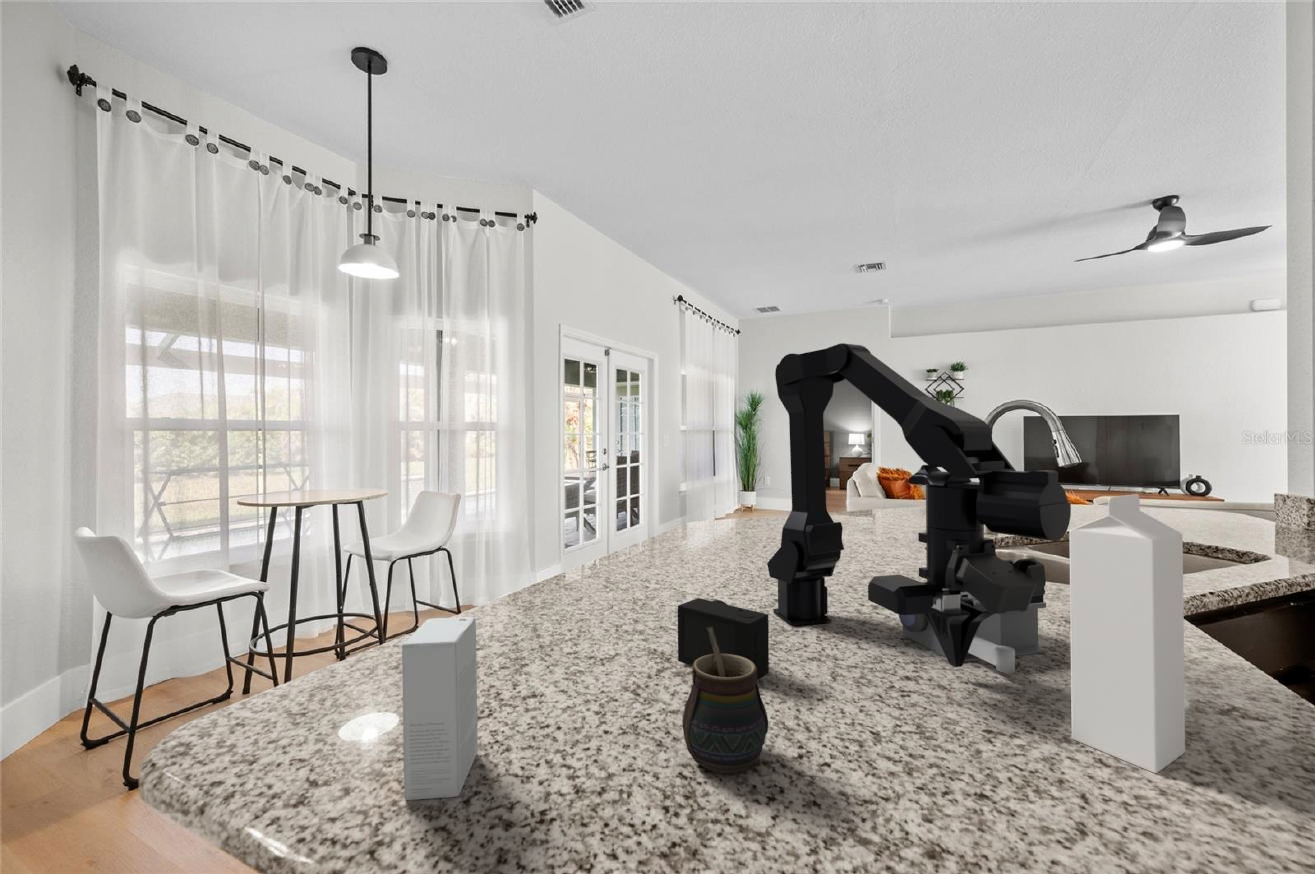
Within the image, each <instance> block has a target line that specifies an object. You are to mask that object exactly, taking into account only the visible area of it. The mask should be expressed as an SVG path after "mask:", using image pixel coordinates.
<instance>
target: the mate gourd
mask: <svg viewBox="0 0 1315 874" xmlns="http://www.w3.org/2000/svg"><path fill="white" fill-rule="evenodd" d="M707 630H708V632H709V637H710V641H711V644H712V647H713V651H714V654H710V655H705V656H702V657H700V658H698V659H696V660H695V661H694V663H693V665H692V667H691V673H692V676H691V678H692V685H691V689H690V693H689V694H688V698H687V699H686V702H685V704H684V710H683V712H682V721H681V722H682V723H681V724H682V731H683V736H684V737H683V738H684V741H685V744H686V749H687V751H688V753H689V755H690V756H691V757H692V759H693V760H694V762H695V763H697V764H698V766H702V767H704V768H705V769H707V770H708V771H711V772H714V773H719V774H723V775H731V774H738V773H740V772H741V773H742V772H743V771H745V770H746V769H748V768H749V767H751V766H753V764H755V763H756V761H757V760H758V759H759V757H760V756H761V754H762V753H763V748H764V747H763V746H764V745H765V742H766V736H767V734H768V732H769V719H768V714H767V709H766V707H765V705H764V701H763V699H762V697H761V693H760V689H759V685H758V681H757V667H756V665H755V664H754V663H753V662H752V661H750V660H749V659H747V658H744V657H741V656H737V655H732V654H721V653H720V649H719V648H718V647H719V646H718V645H717V639H716V636H715V635H714V630H713V626H712V627H707Z"/></svg>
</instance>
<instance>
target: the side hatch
mask: <svg viewBox="0 0 1315 874" xmlns="http://www.w3.org/2000/svg"><path fill="white" fill-rule="evenodd" d="M967 654H972V655H974V656H976V657H979V658H981V659H983V661H985V662H987V663H989V664H991V665H993V666H995V669H996V670H997V671H998V672H1001V673H1002V674H1003V673H1004V674H1016V656H1015V650H1014V649H1013V648H1011V647H1007V646H1001V623H1000V614H993V615H991V616H990V617H988V618H987V619H985V620H983V621H982V622H981V624H980V626H979V628H978V630H977V632H976V634H975V636H974V638H973V641H972V643H971V646H970V648H969V651H968V653H967Z"/></svg>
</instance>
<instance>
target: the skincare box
mask: <svg viewBox="0 0 1315 874" xmlns="http://www.w3.org/2000/svg"><path fill="white" fill-rule="evenodd" d="M476 624H477V622H476V617H474V616H472V617H471V616H467V617H466V616H465V617H435V618H427V619H426V620H425V621H424V622H423V623H422V624H421V625H420V627H419V628H417V629H416V630H415V631H414V632H413V634H411V636H410V637H408V639H406V640H405V642H404V643H402V645H401V667H402V728H403V730H402V732H403V733H402V735H403V736H402V738H403V741H402V742H403V745H402V746H403V785H404V786H403V787H404V788H403V789H404V791H403V792H404V793H403V795H404V796H403V797H404V799H405V800H406V801H416V800H427V799H429V800H430V799H445V798H447V799H448V798H456V797H459V796H460V794H461V791H462V790H463V787H464V785H465V782H466V780H467V778H468V775H469V773H470V770H471V769H472V765H473V764H474V761H475V759H476V756H477V754H478V751H479V745H478V743H479V742H478V741H479V740H478V738H479V737H478V733H479V732H478V731H479V730H478V692H477V691H478V686H477V685H478V683H477V681H478V679H477V676H478V675H477V626H476Z"/></svg>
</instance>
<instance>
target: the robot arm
mask: <svg viewBox="0 0 1315 874" xmlns="http://www.w3.org/2000/svg"><path fill="white" fill-rule="evenodd" d="M774 374H775V375H774V377H775V383H776V389H777V390H776V391H777V396H778V399H779V401H780V402H781V404H782V405H783V407H784V408H785V410H786V412H787V414H788V420H789V421H788V425H789V426H788V427H789V428H788V429H789V455H790V458H789V459H790V479H791V480H790V483H791V486H790V489H791V491H790V493H791V510H790V513H789V515H788V517H787V519H786V520H785V523H784V525H783V526H782V529H781V531H782V532H781V540H780V541H781V542H780V547H779V548H778V549H777V551H776V552H775V553H774V554H773V555H772V557H771V558H770V559H769V560H768V561H767V564H766V565H767V566H766V567H767V569H768V574H769V577H770V578H773V579H774V580H777V608H773V612H772V613H774V614H775V615H776V616H778V617H779V618H780V619H782V620H784V621H785V623H788V624H789V625H790V626H802V625H809V624H810V625H812V624H820V623H822V624H823V623H829V622H830V623H831V622H832V617H830V616H828V612H829V611H828V609H829V607H828V606H829V605H828V597H829V596H828V594H829V593H828V587H827V586H826V577H833V575H834V572H835V568H836V565H837V563H838V562H839V561H840V559H841V553H842V551H845V547H844V543H843V524H842V522H841V521H836V522H835V521H834V520H833V518H832V517H831V515H830V513H829V512H828V508H827V489H826V487H827V486H826V458H825V456H826V455H825V454H826V453H825V429H824V427H825V426H824V422H825V421H824V413H825V411H826V408H827V406H828V405H829V403H830V402H831V399H832V397H833V395H834V394H833V393H834V387H835V386H834V385H836V384H839V383H843V382H845V381H847V382H848V383H850V384H851V385H853V387H854V388H856V389H857V390H858V391H859V392H861V393H862V394H863V395H864V396H866V397H867V398H868V399H869V400H870V401H872V402H873V404H875V405H876V406H877V407H879V408H880V409H881V410H882V411H883V412H885V413H886V414H887V415H888V416H889V417H890V418H892V419H893V420H894V421H895V422H896V423H897V424H898V425H899V427H900V428H901V430H902V434H903V436H904V441H906V443H907V444H908V446H909V447H910V448H911V449H912V451H914V452H915V454H916V455H917V456H918V457H919V459H920V460H921V461H922V462H924V463H925V464H922V465H921V466H920V468H919V469H918V471H917V472H915V473H914V474H913V475H911V476H910V477H909V478H908V479H907V482H908V483H909V484H910V485H917V486H925V532H924V531H923V532H918V540H917V541H918V542H920V543H924V544H926V545H925V546H926V547H925V548H926V551H925V552H926V562H925V563H926V566H925V567H918V577H920V578H922V579H926V581H923V582H922V581H920V580H916V579H913V578H910V577H909V576H908V577H907V576H905V575H902V574H889V575H888V574H886V575H877V576H875V575H874V576H873V577H872V578H871V580H870V581H869V582H868V584H867V593H868V594H867V601H869V602H871V603H874V604H876V605H877V606H880V607H882V608H884V609H886V610H888V611H891V612H892V613H894V614H897V615H899V614H901V615H914V614H924V615H925V617H926V618H927V620H928V622H929V623H930V625H931V627H932V629H933V631H934V633H935V635H936V637H937V639H938V641H939V643H940V645H941V647H942V649H943V652H944V654H945V656H946V657H945V658H946V660H947V662H948V664H949V665H951V666H952V667H954V668H961V667H963V665H964V663H965V662H964V661H965V658H966V656H967V653H968V651H969V648H970V646H971V643H972V641H973V638H974V636H975V634H976V632H977V630H978V628H979V626H980V624H981V622H982V621H983V620H985V619H987V618H988V617H990V616H991V615H993V614H1003V613H1005V612H1007V611H1017V610H1019V611H1020V612H1023V611H1027V610H1028V607H1029V604H1033V603H1043V602H1044V595H1045V594H1046V590H1045V587H1046V582H1047V579H1046V573H1045V565H1044V564H1043V563H1042V562H1040V561H1038V560H1037V559H1035V558H1032V557H1031V558H1019V559H1017V560H1016V561H1015V562H1014V561H1013V560H1011V559H1006V560H1005V559H1002V558H1000V557H999V556H998V555H997V552H996V551H997V550H996V544H995V543H994V539H992V538H989V537H985V527H986V529H987V530H989V532H991V533H993V534H994V533H995V534H1001V535H1009V536H1015V537H1020V538H1021V537H1022V538H1028V539H1029V538H1030V539H1036V540H1043V541H1049V542H1058V541H1060V540H1061V539H1063V537H1064V536H1065V535H1066V533H1067V531H1068V528H1069V525H1070V521H1071V517H1072V516H1071V514H1072V507H1071V506H1072V504H1071V502H1069V501H1068V495H1067V493H1066V491H1065V489H1064V487H1063V486H1062V485H1061V484H1060V483H1059V472H1058V471H1057V470H1051V469H1050V470H1048V469H1047V470H1045V469H1044V470H1030V471H1026V470H1025V471H1024V470H1016V469H1015V467H1014V466H1013V465H1012V464H1011V463H1010V461H1009V460H1008V459H1007V457H1006V456H1005V455H1004V454H1003V452H1002V451H1001V449H999V447H998V446H997V444H996V443H995V442H994V440H993V435H992V434H993V431H992V428H991V427H990V425H989V424H987V422H985V421H984V420H983V419H981V418H979V417H978V416H976V415H973V414H971V413H969V412H966V411H964V410H962V409H960V408H959V407H955V406H953V405H950V404H946V403H944V402H941V401H938V400H936V399H934V398H932V397H930V396H929V395H927V394H926V393H925V392H923V391H922V390H921V389H920V388H918V387H916V386H915V385H914V384H912V383H911V382H910V381H909V380H907V379H905V378H904V377H903V376H902V375H901V374H899V373H898V372H896V371H895V370H894V369H893V368H891V367H890V366H888V365H887V364H885V363H884V362H883V361H882V360H880V359H879V358H878V357H876V356H875V355H874V354H873V353H871V351H870V350H869V349H868V348H867V347H866V346H865V345H862V344H861V345H860V344H855V343H854V344H852V343H845V342H844V343H843V342H842V343H838V344H835V345H831V346H829V347H826V348H824V349H817V350H813V351H807V352H803V353H788V354H785V355H784V357H782V358H781V359H780V361H779V363H778V364H776V366H775V373H774ZM939 468H942V469H943V470H944V471H942V470H940V469H939ZM971 479H972V480H973V479H978V481H979V482H978V481H972V480H971ZM943 588H944V589H949V590H942V589H943Z"/></svg>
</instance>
